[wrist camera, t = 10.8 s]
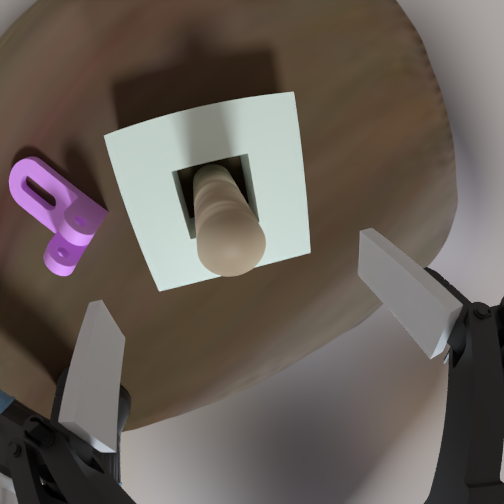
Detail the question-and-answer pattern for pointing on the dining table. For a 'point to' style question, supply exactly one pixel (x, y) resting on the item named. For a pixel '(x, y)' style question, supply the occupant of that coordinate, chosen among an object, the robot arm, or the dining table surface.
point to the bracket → (57, 212)
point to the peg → (225, 224)
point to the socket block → (202, 151)
